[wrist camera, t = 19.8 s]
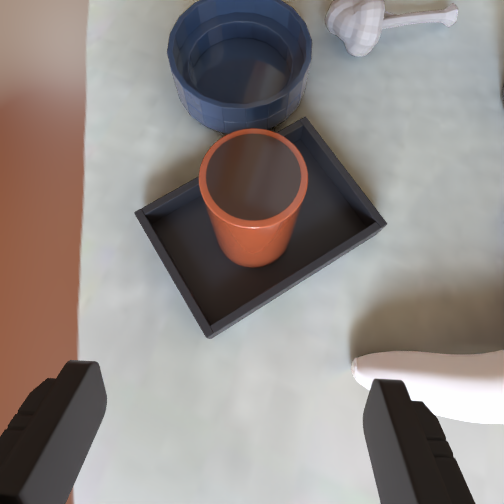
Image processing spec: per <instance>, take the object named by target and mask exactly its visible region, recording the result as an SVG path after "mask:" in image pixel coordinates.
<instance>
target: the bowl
mask: <svg viewBox="0 0 504 504" xmlns="http://www.w3.org/2000/svg"><path fill="white" fill-rule="evenodd" d="M167 54H168V59H169V63H170V67H171V71H172V75H173V78H174V81H175V85H176V88H177V91H178V95H179V98H180V101H181V102H182V104H183V105H184V107H185V108H186V110H187V111H188V113H189V114H190V115H191V116H192V117H194V118H195V119H196V120H198V121H199V122H200V123H202V124H203V125H204V126H206V127H208V128H211V129H214V130H217V131H219V132H222V133H226V134H230V133H232V132H235V131H238V130H242V129H250V128H257V129H265V130H269V129H271V128H272V127H274V126H276V125H278V124H280V123H281V122H283V121H285V120H286V119H287V118H288V117H289V116H290V115H291V113H292V112H293V111H294V110H295V109H296V108H297V107H298V105H299V103H300V101H301V99H302V96H303V94H304V92H305V89H306V84H307V79H308V74H309V69H310V64H311V55H312V40H311V37H310V34H309V31H308V29H307V26H306V23H305V22H304V21H303V19H302V18H301V17H300V16H299V15H298V13H297V12H296V11H295V10H294V8H292V7H291V6H289V5H288V4H286V3H285V2H283V1H282V0H199V1H197V2H195V3H194V4H193V5H192V6H191V7H189V8H188V9H187V10H186V11H185V12H184V13H183V14H182V15H181V16H180V17H179V18H178V20H177V22H176V24H175V25H174V27H173V29H172V31H171V32H170V36H169V43H168V49H167Z"/></svg>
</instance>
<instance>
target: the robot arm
mask: <svg viewBox="0 0 504 504" xmlns="http://www.w3.org/2000/svg"><path fill="white" fill-rule="evenodd" d="M503 102H504V86H503ZM106 405H107V395H106V391H105V387H104V382H103V378H102V374H101V370H100V366H99V364H98V362H96V361H78V360H70V361H68V362H67V363H66V364H65V366H64V367H63V369H62V370H61V372H60V373H59V375H58V376H57V378H56V379H53V378H47V379H46V380H45V381H44V382H42V383H41V384H40V385H39V386H38V387H37V388H35V389H34V390H33V391H32V392H31V393H30V394H29V395H28V397H27V398H26V400H25V401H24V402H23V404H22V405H21V407H20V408H19V410H18V413H17V414H15V416H14V417H13V419H12V420H11V422H10V423H9V425H8V428H7V429H6V430H4V432H3V433H2V435H1V436H0V504H65V503H66V501H67V499H68V496H69V494H70V492H71V490H72V488H73V485H74V483H75V481H76V478H77V476H78V474H79V472H80V469H81V467H82V465H83V463H84V460H85V458H86V456H87V454H88V451H89V449H90V447H91V444H92V442H93V440H94V438H95V435H96V433H97V431H98V429H99V426H100V424H101V422H102V419H103V417H104V414H105V411H106ZM363 429H364V435H365V439H366V443H367V448H368V452H369V456H370V460H371V464H372V468H373V472H374V477H375V481H376V485H377V489H378V493H379V497H380V502H381V504H475V502H474V500H473V497H472V495H471V493H470V491H469V488H468V486H467V484H466V482H465V479H464V477H463V475H462V473H461V470H460V468H459V466H458V464H457V461H456V459H455V458H454V457H453V452H452V450H451V448H450V446H449V443H448V442H447V441H446V437H445V434H444V432H443V430H442V428H441V425H440V423H439V421H438V419H437V417H436V416H435V415H434V414H433V413H432V412H431V410H430V409H429V408H428V407H427V406H426V405H425V404H424V402H423V401H413V400H411V398H410V395H409V393H408V390H407V388H406V385H405V384H404V382H403V381H402V380H393V379H376V378H375V379H374V380H373V382H372V385H371V388H370V392H369V395H368V399H367V402H366V405H365V409H364V413H363Z"/></svg>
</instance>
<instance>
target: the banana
mask: <svg viewBox="0 0 504 504" xmlns="http://www.w3.org/2000/svg"><path fill="white" fill-rule="evenodd" d="M351 371H352V373H353V376H354V378H355V379H356V381H357V382H359V383H360V384H361V385H362V386H364V387H365V388H367V389H368V390H370V388H371V385H372V382H373V380H374V379H375V378H376V379H393V380H402V381H403V382H404V384H405V385H406V388H407V390H408V393H409V395H410V398H411V400H413V401H423V402H424V404H425V405H426V406H427V407H428V408H429V409H430V410H431V412H432V413H433V414H435V415H439V416H443V417H447V418H452V419H457V420H462V421H468V422H475V423H486V424H504V349H503V350H499V351H495V352H489V353H481V354H441V353H430V352H419V351H388V352H380V353H371V354H367V355H364V356H361V357H357V358H355V359H354V360H353V362H352V367H351Z"/></svg>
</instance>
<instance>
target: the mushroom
mask: <svg viewBox="0 0 504 504" xmlns="http://www.w3.org/2000/svg"><path fill="white" fill-rule="evenodd" d="M457 15H458V8H457V6H456V5H455V4H454V3H452V4H451V5H449V6H448V7H446V8H445V9H444V10H435V11H423V12H413V13H405V14H400V15H396V14H392V13H390V12H387V11H385V3H384V0H334V1H332V3H331V5H330V7H329V10H328V12H327V14H326V16H325V24H326V26H327V29H328V30H329V32H331V33H332V34H334V35H336V36H338V37H339V38H340V39H341V40H342V41H344V43H345V47H346V49H347V51H348V52H349V53H350V54H351V55H353V56H365V55H366V54H368V53H369V52H370V51H371V50H372V49H373V47H374V46H375V45H376V44H377V43H378V40H379V38H380V35H381V30H382V29H386V28H392V27H398V26H403V25H407V24H415V23H428V22H442V23H443V24H444V25H446V26H447V27H450V26H451V25H453V24H454V23H455V22H456V19H457ZM384 17H385V18H384Z"/></svg>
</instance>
